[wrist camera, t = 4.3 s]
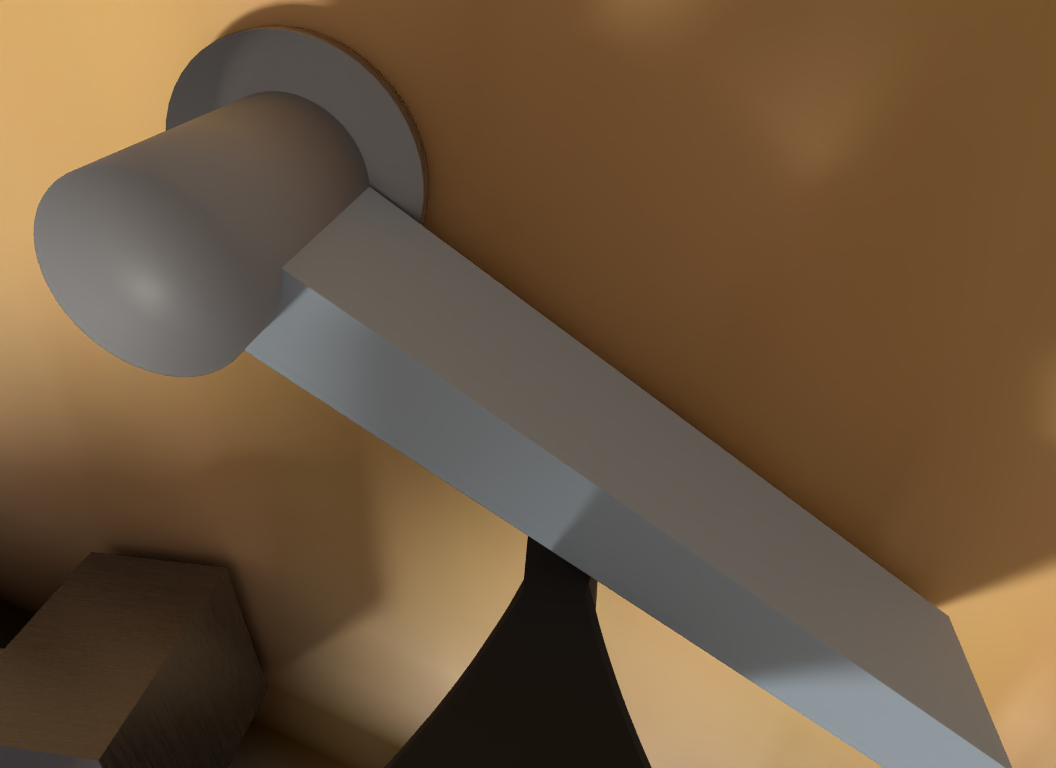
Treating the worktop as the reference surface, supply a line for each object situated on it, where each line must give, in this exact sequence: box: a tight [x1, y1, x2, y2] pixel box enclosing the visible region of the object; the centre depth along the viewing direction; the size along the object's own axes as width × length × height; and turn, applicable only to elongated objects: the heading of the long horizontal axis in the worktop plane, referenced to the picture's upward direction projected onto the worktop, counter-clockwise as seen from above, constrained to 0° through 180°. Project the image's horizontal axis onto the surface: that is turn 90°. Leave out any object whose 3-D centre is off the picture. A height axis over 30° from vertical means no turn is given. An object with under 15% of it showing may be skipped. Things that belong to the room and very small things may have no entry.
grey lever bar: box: [34, 91, 1012, 768], centre depth 10 cm, size 14×2×3 cm, turn 54°
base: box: [166, 26, 429, 225], centre depth 10 cm, size 4×4×1 cm
